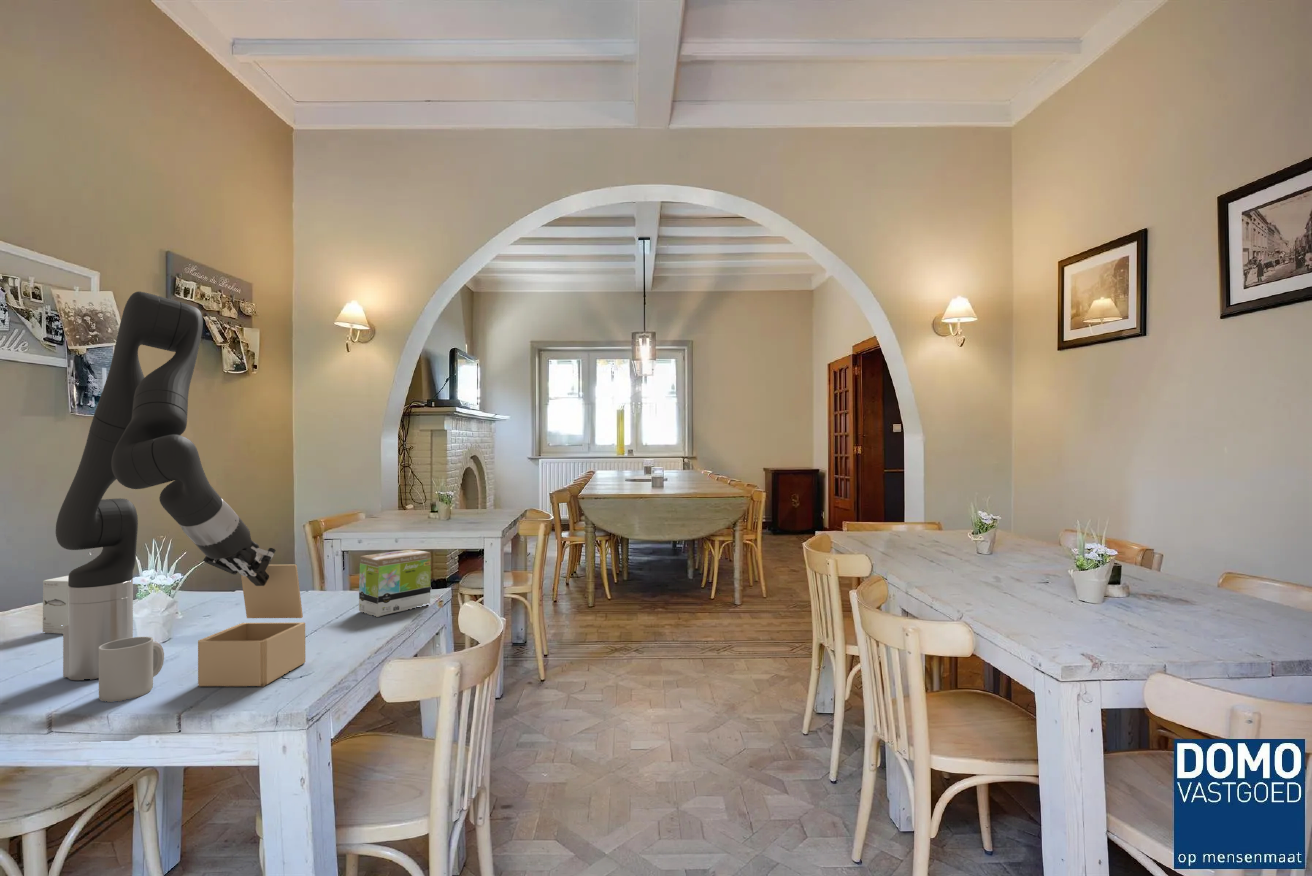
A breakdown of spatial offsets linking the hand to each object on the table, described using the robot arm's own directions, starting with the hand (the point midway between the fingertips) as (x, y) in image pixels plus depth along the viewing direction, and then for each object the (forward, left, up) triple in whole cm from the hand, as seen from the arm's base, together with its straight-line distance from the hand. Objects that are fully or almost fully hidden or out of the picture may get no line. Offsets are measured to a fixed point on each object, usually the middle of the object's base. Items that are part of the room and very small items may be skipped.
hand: (262, 581), depth 118 cm
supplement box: (-66, +27, -17) cm, 73 cm away
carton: (0, -2, -17) cm, 17 cm away
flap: (0, +4, -8) cm, 9 cm away
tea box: (+5, +45, -17) cm, 48 cm away
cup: (-16, -10, -17) cm, 26 cm away
